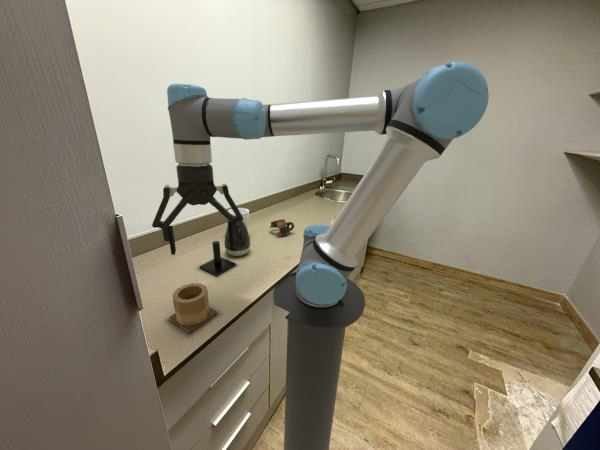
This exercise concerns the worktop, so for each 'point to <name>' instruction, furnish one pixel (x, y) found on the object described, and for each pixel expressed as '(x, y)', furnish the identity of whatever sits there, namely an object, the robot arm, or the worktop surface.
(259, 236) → the worktop surface
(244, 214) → the foam cup
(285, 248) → the worktop surface
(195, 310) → the maple ring
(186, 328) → the low peg stand
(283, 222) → the pottery mug
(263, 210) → the worktop surface
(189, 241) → the worktop surface
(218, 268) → the square base peg
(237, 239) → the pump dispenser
